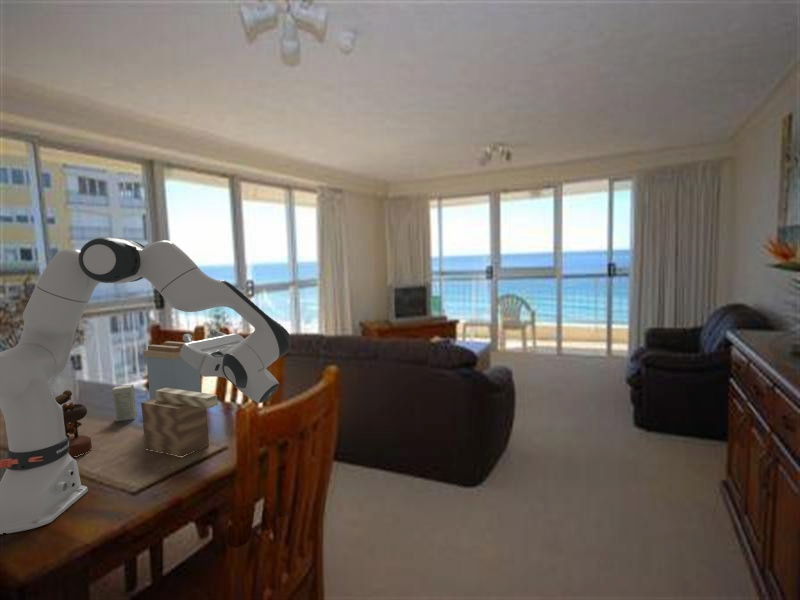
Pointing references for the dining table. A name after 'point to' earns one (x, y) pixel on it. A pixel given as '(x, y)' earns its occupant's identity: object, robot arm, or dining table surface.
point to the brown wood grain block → (174, 427)
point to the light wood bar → (187, 397)
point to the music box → (74, 424)
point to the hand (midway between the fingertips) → (198, 333)
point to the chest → (170, 369)
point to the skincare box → (124, 402)
